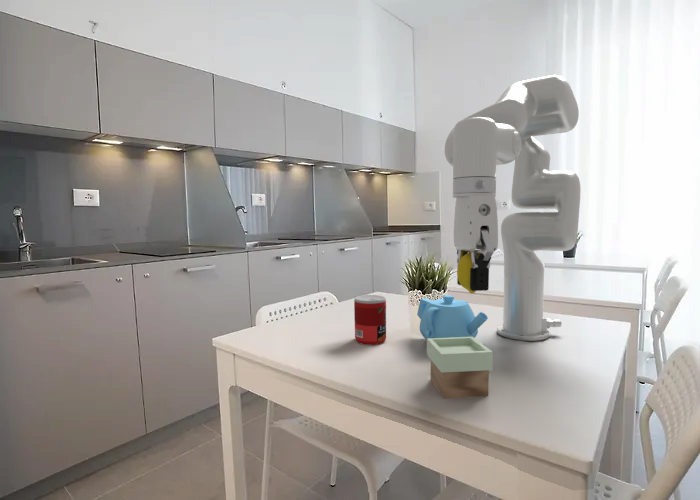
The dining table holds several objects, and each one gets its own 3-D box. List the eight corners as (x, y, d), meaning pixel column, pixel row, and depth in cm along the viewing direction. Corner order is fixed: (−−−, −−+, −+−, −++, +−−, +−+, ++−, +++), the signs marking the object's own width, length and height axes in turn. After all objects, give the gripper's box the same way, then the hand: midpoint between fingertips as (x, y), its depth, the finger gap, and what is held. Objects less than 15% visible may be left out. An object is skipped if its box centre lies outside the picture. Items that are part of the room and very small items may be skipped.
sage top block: (472, 352, 80) (472, 336, 80) (492, 370, 71) (492, 351, 71) (426, 354, 79) (426, 338, 79) (441, 372, 70) (441, 354, 70)
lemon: (483, 297, 73) (484, 252, 72) (452, 294, 76) (453, 251, 75) (491, 292, 78) (491, 250, 77) (461, 290, 80) (462, 249, 80)
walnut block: (471, 378, 80) (471, 353, 80) (488, 397, 72) (488, 369, 72) (430, 380, 79) (430, 355, 79) (443, 399, 71) (443, 371, 71)
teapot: (397, 341, 104) (396, 295, 103) (439, 329, 114) (439, 286, 113) (464, 362, 88) (465, 308, 87) (506, 346, 99) (507, 297, 98)
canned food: (384, 346, 100) (384, 301, 99) (352, 344, 102) (351, 300, 101) (387, 336, 108) (387, 295, 107) (357, 335, 109) (357, 294, 108)
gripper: (517, 185, 67) (514, 295, 68) (475, 192, 84) (473, 280, 85) (472, 184, 66) (470, 296, 68) (439, 192, 84) (438, 281, 85)
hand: (472, 286), depth 77 cm, fingers closed on lemon, 5 cm apart
